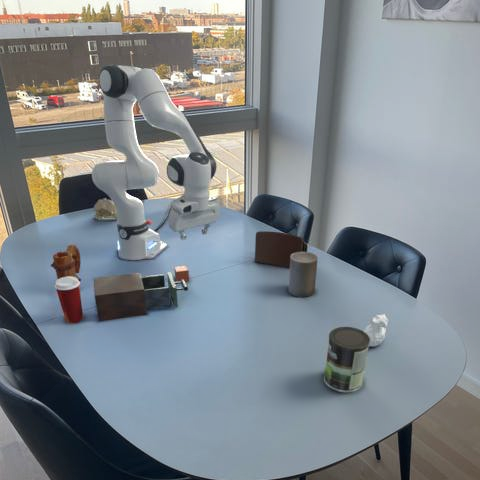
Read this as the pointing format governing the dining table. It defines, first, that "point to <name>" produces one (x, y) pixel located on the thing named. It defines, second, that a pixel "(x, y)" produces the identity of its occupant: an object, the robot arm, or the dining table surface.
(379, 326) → the bust
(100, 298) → the cabinet
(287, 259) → the letter holder
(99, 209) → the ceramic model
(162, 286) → the drawer
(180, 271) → the block
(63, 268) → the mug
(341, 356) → the coffee can
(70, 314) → the paper cup
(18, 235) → the dining table surface
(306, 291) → the pillar candle
